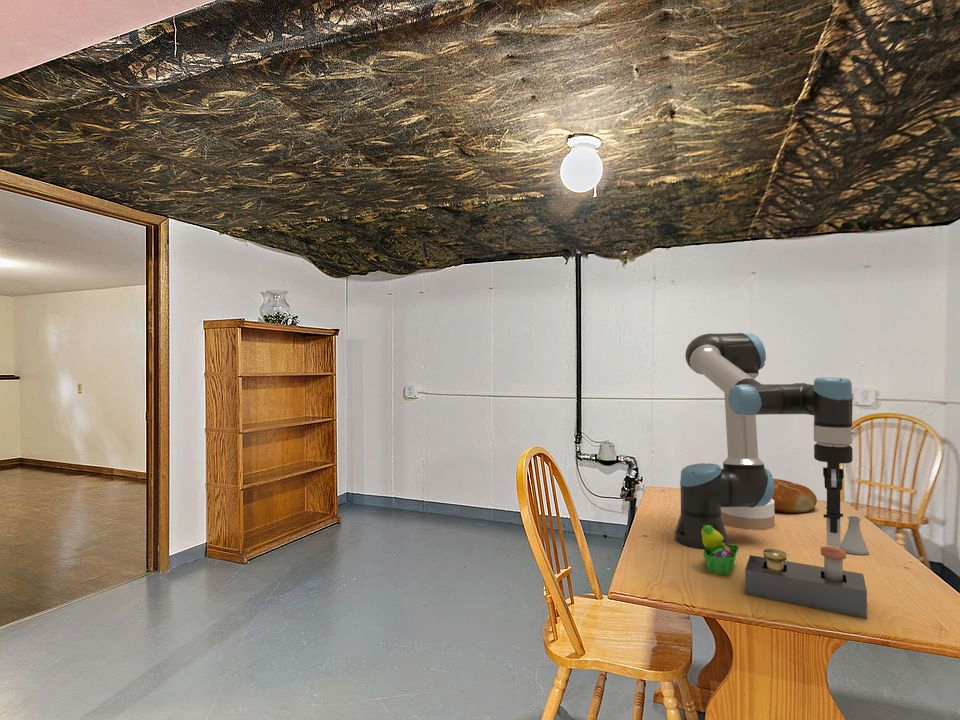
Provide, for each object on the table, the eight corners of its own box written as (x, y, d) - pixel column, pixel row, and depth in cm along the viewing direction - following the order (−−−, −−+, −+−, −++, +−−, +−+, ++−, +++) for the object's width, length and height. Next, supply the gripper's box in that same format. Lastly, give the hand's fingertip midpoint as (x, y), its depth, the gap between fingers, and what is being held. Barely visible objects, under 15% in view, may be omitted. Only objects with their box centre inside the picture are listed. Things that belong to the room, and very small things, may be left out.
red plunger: (820, 584, 126) (820, 551, 126) (820, 577, 131) (820, 545, 131) (846, 589, 124) (846, 555, 124) (845, 581, 128) (845, 548, 128)
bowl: (776, 519, 191) (776, 495, 191) (772, 533, 177) (772, 507, 176) (723, 512, 200) (723, 489, 200) (715, 525, 186) (715, 500, 186)
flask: (874, 556, 156) (874, 521, 156) (846, 554, 157) (845, 520, 157) (862, 547, 163) (861, 514, 163) (835, 546, 164) (834, 513, 164)
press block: (745, 594, 132) (745, 569, 132) (750, 578, 141) (750, 555, 141) (866, 618, 120) (866, 591, 119) (863, 599, 129) (863, 573, 129)
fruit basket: (733, 578, 141) (733, 535, 141) (697, 571, 146) (697, 529, 146) (739, 564, 151) (739, 523, 151) (705, 558, 156) (705, 518, 156)
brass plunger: (762, 585, 133) (762, 553, 133) (764, 578, 137) (764, 547, 137) (786, 589, 130) (786, 557, 130) (787, 582, 134) (787, 551, 134)
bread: (815, 520, 190) (815, 491, 190) (741, 510, 203) (741, 483, 203) (817, 504, 209) (817, 478, 209) (749, 496, 222) (749, 472, 222)
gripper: (854, 449, 119) (854, 557, 120) (850, 441, 131) (851, 539, 131) (813, 446, 123) (814, 551, 124) (814, 439, 134) (814, 534, 135)
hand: (833, 545), depth 127 cm, fingers closed
